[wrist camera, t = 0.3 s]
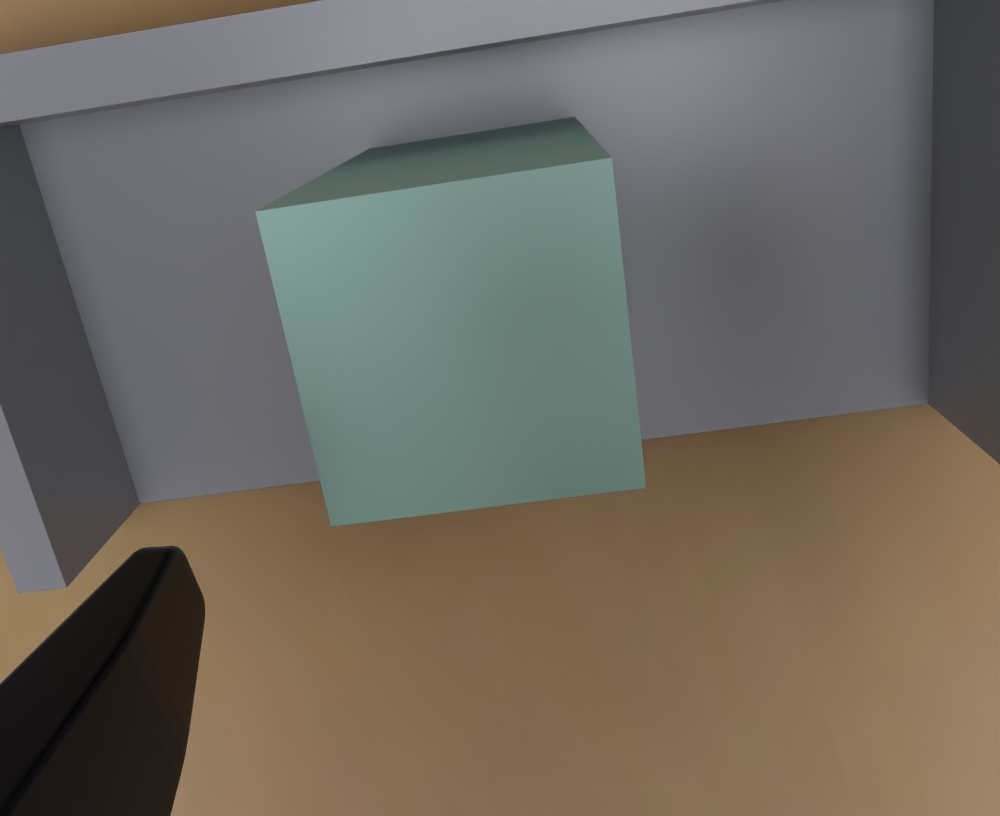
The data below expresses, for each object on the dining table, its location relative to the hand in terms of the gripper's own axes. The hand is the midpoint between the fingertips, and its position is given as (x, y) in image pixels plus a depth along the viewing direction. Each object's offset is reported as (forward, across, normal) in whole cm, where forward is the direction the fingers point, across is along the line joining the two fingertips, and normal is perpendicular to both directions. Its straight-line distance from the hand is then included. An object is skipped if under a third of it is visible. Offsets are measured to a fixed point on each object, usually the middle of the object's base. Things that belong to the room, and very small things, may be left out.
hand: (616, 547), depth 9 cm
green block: (+14, +2, +4) cm, 15 cm away
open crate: (+15, +2, +4) cm, 15 cm away
